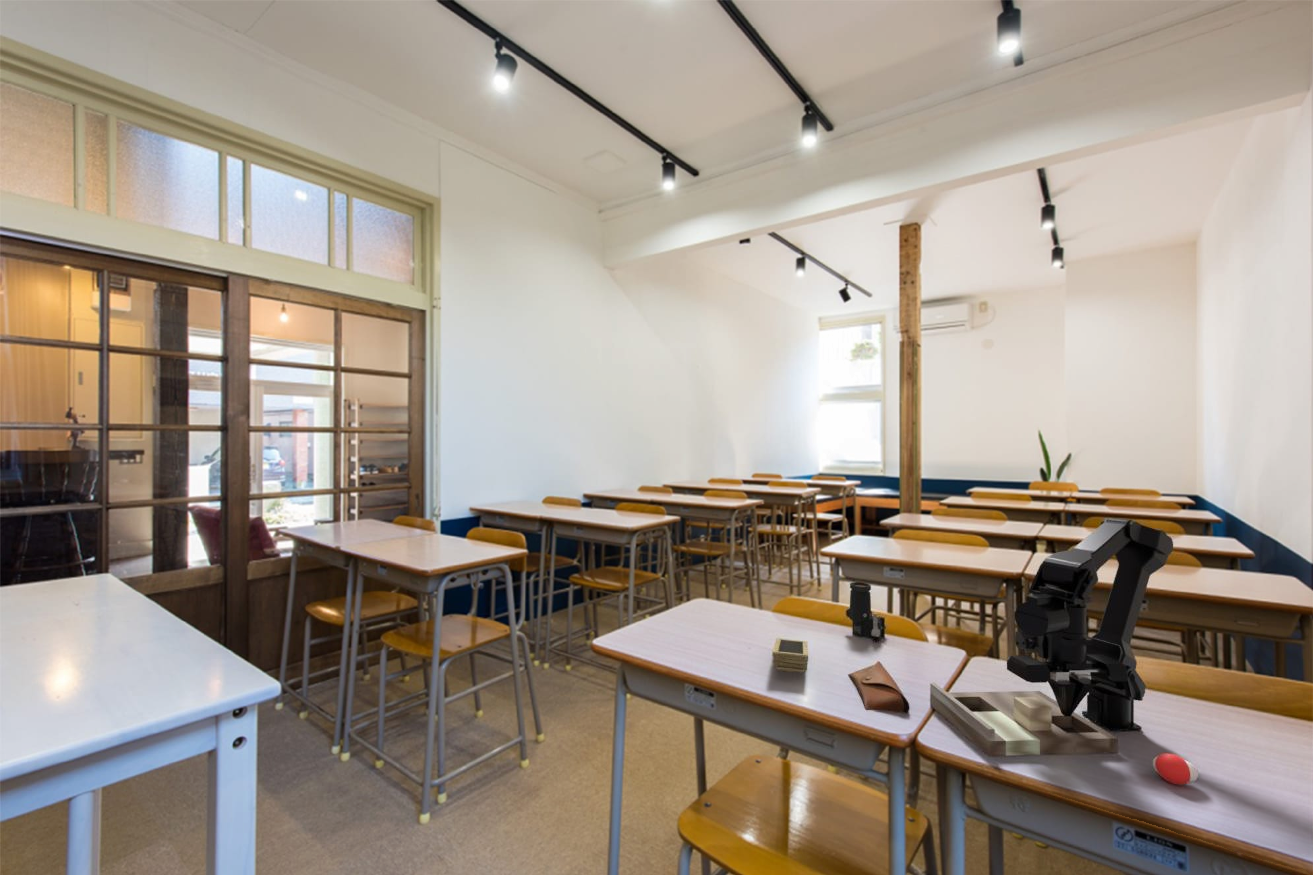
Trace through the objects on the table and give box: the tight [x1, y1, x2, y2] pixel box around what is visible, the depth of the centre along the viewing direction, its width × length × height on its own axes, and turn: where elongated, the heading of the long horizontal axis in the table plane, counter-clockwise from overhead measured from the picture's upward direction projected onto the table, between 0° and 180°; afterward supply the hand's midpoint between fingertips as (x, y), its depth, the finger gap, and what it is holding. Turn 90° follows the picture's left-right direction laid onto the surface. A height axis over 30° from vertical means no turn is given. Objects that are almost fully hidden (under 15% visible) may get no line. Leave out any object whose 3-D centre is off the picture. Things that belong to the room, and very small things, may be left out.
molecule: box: [1152, 752, 1199, 786], centre depth 87 cm, size 5×5×4 cm
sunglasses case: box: [847, 660, 911, 714], centre depth 117 cm, size 18×7×7 cm
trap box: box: [929, 682, 1119, 757], centre depth 103 cm, size 23×18×4 cm
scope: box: [845, 581, 887, 643], centre depth 152 cm, size 8×14×10 cm
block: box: [1014, 697, 1052, 731], centre depth 99 cm, size 4×4×4 cm
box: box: [772, 637, 809, 674], centre depth 132 cm, size 8×22×5 cm, turn 167°
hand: (1066, 715), depth 99 cm, fingers closed
